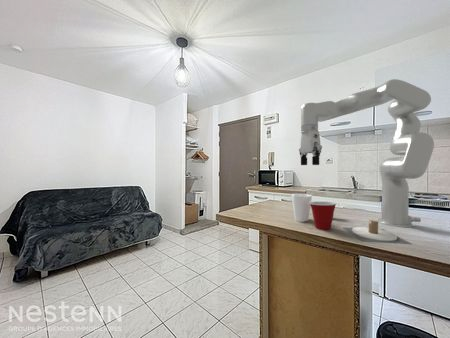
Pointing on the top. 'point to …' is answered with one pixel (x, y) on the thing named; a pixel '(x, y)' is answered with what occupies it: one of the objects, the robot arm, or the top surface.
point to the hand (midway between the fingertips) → (309, 165)
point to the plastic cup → (323, 214)
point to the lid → (374, 232)
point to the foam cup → (301, 206)
